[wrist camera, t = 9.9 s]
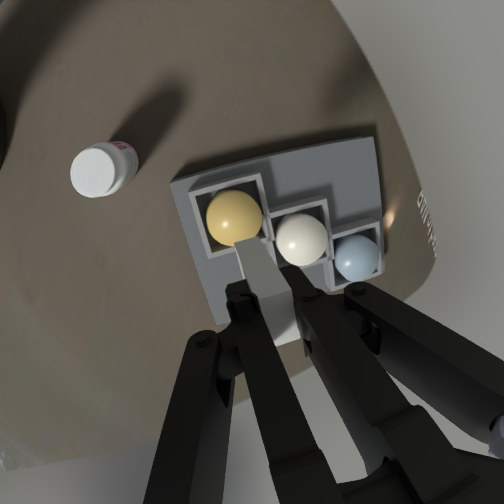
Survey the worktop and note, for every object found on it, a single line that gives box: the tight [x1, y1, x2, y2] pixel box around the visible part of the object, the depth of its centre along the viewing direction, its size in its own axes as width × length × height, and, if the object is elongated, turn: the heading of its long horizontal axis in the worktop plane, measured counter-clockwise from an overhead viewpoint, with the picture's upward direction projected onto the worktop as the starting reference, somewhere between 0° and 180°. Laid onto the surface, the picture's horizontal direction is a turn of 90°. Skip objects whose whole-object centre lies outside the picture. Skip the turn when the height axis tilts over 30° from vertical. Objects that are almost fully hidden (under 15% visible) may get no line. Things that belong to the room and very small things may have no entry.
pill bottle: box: [71, 141, 139, 197], centre depth 24 cm, size 5×5×8 cm
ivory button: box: [274, 211, 328, 266], centre depth 30 cm, size 5×5×2 cm
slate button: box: [332, 232, 379, 282], centre depth 33 cm, size 5×5×2 cm
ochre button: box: [206, 188, 262, 246], centre depth 28 cm, size 5×5×2 cm
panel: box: [170, 136, 385, 326], centre depth 32 cm, size 17×22×4 cm
